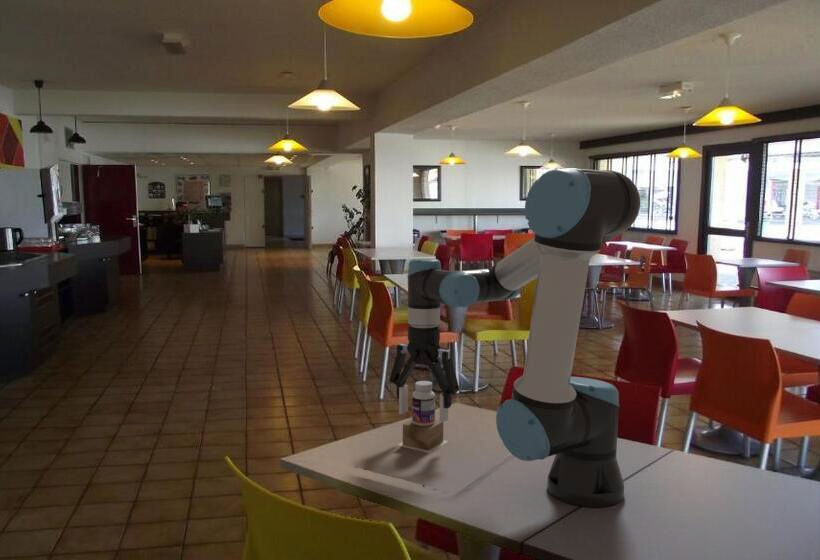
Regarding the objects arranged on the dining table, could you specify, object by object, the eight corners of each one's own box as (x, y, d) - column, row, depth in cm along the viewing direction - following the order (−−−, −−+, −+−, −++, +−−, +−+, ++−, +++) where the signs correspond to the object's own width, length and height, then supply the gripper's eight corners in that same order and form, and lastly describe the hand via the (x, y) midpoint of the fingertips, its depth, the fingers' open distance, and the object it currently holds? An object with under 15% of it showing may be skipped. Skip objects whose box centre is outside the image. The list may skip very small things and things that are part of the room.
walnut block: (443, 441, 161) (443, 421, 160) (428, 450, 155) (428, 429, 154) (418, 436, 164) (418, 416, 164) (402, 444, 158) (402, 424, 158)
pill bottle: (409, 420, 161) (409, 380, 160) (430, 418, 162) (430, 379, 161) (416, 427, 156) (416, 386, 154) (438, 425, 157) (438, 384, 156)
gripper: (475, 327, 153) (473, 421, 156) (392, 317, 166) (392, 404, 168) (459, 332, 147) (458, 430, 149) (374, 322, 159) (374, 412, 162)
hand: (423, 416), depth 159 cm, fingers open, 10 cm apart
